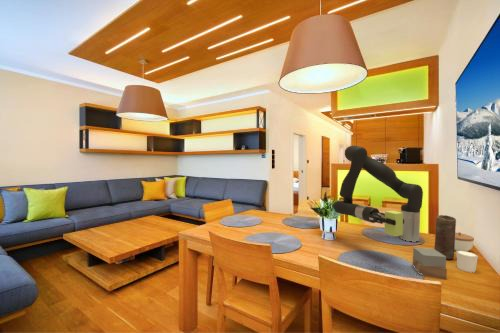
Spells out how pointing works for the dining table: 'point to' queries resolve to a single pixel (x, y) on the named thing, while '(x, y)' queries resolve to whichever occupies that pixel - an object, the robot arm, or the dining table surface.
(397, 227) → the lime pillar
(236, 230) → the dining table surface
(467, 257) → the white short cylinder
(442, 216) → the candle
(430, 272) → the walnut base block
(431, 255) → the charcoal top block
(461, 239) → the lidded jar
